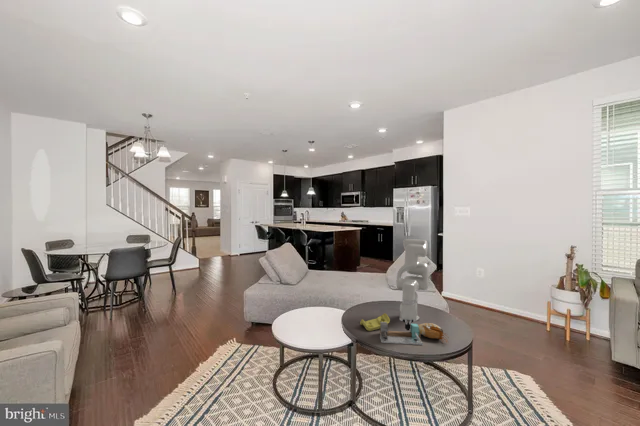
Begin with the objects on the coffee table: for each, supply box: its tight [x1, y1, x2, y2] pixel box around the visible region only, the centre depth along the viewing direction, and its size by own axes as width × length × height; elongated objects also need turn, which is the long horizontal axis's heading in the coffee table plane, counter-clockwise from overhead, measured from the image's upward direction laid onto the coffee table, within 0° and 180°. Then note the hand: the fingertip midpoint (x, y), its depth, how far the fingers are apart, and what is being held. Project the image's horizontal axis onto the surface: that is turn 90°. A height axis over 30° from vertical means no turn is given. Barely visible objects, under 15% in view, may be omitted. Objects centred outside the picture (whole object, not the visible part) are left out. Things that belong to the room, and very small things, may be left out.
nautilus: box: [417, 322, 449, 344], centre depth 173 cm, size 8×22×15 cm
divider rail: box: [379, 322, 421, 339], centre depth 172 cm, size 11×25×8 cm, turn 86°
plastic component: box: [359, 312, 391, 332], centre depth 190 cm, size 20×7×10 cm
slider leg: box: [409, 322, 419, 340], centre depth 171 cm, size 11×4×8 cm, turn 176°
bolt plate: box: [379, 335, 424, 346], centre depth 169 cm, size 7×25×1 cm, turn 86°
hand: (407, 329), depth 175 cm, fingers closed
